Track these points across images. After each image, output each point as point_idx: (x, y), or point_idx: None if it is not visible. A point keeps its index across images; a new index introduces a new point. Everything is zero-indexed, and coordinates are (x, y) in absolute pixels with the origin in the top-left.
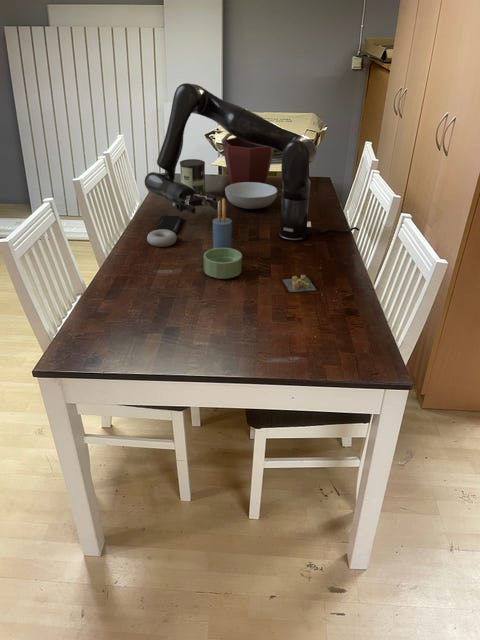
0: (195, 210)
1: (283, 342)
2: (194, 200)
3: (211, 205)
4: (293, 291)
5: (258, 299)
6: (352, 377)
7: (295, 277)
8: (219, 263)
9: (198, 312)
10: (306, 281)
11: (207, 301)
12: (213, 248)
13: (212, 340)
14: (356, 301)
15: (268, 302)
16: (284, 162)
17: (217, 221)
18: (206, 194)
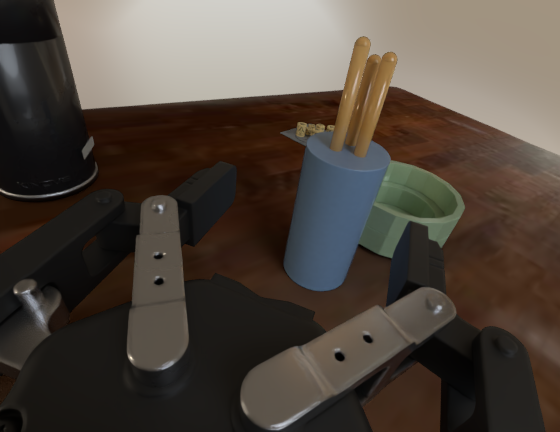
0: (402, 235)
1: (447, 129)
2: (282, 303)
3: (202, 227)
4: None
5: (405, 160)
6: (426, 100)
7: (316, 128)
8: (442, 180)
9: (528, 202)
10: (295, 132)
11: (495, 205)
12: (400, 216)
13: (534, 170)
14: (302, 101)
15: (398, 151)
16: None
17: (368, 157)
18: (5, 290)
